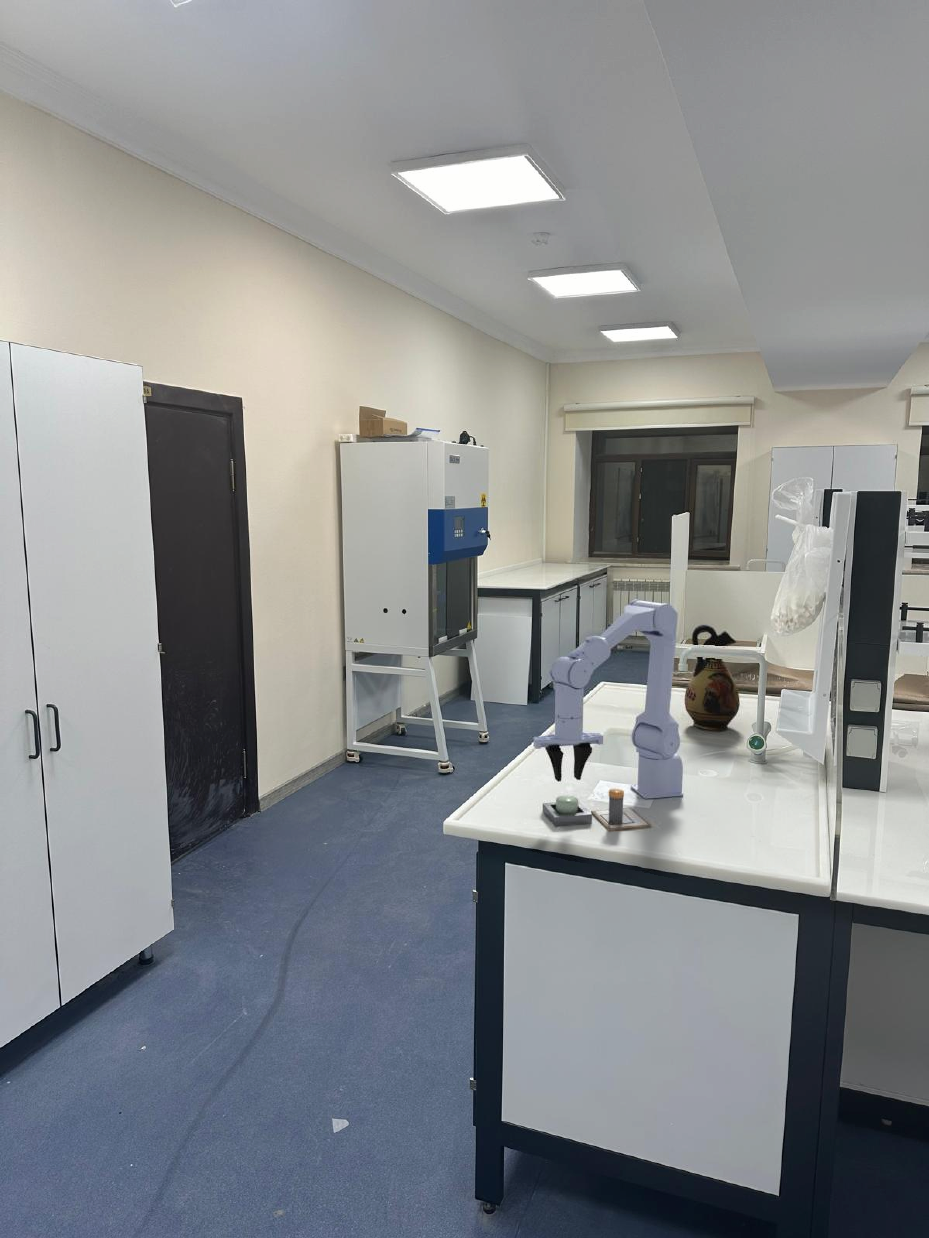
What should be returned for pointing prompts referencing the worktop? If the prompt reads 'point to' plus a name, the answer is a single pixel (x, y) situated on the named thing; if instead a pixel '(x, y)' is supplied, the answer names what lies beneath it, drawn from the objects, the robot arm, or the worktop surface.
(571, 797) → the button
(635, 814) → the wooden framed board
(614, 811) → the marker
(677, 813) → the worktop surface
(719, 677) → the ceramic jug
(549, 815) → the button housing
